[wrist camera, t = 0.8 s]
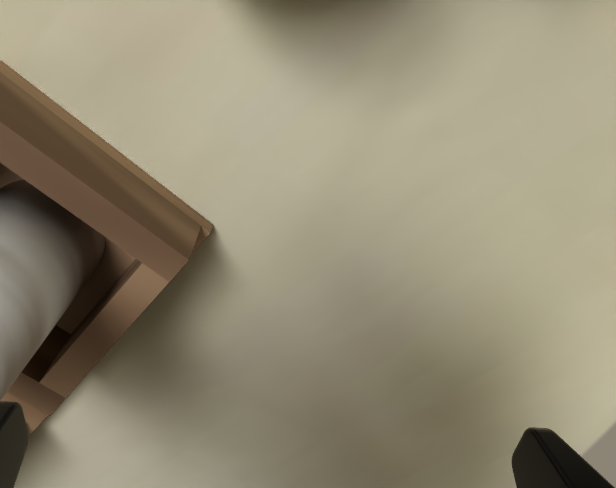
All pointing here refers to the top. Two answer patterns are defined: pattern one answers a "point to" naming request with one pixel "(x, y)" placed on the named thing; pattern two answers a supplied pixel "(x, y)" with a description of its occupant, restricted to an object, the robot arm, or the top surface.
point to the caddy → (74, 247)
